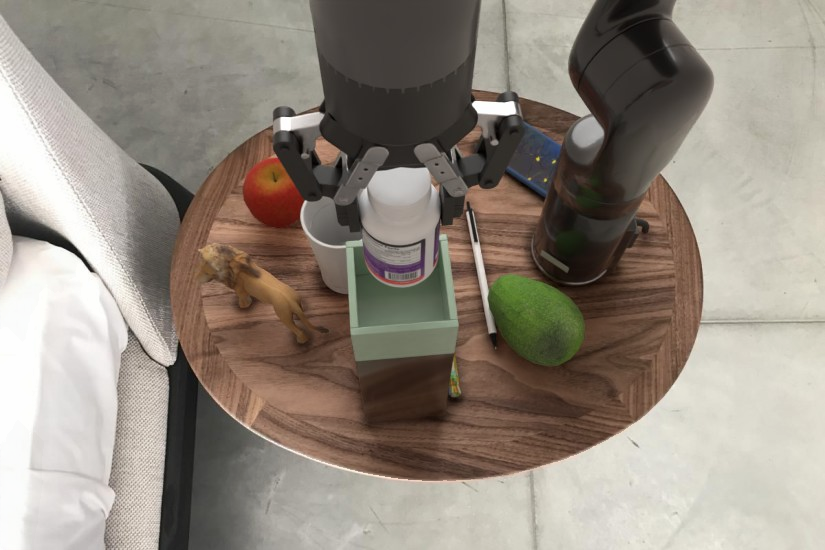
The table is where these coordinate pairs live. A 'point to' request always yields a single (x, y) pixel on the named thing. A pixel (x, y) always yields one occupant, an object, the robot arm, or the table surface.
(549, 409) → the table surface
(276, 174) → the apple
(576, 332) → the fruit
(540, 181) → the smartphone
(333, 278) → the cup
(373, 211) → the pill bottle
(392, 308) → the green open-top box
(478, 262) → the pen
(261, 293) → the lion figurine
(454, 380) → the pencil
